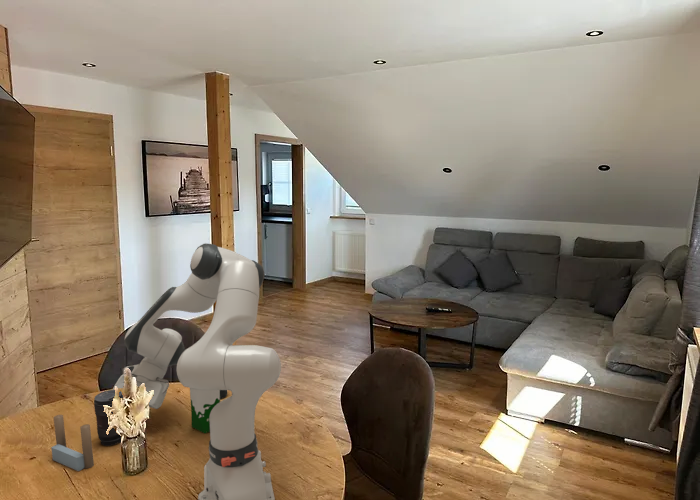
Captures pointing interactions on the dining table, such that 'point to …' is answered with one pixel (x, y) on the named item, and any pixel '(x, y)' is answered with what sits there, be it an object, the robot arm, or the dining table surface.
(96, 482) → the dining table surface
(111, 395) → the camera lens
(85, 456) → the peg rail
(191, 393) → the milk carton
